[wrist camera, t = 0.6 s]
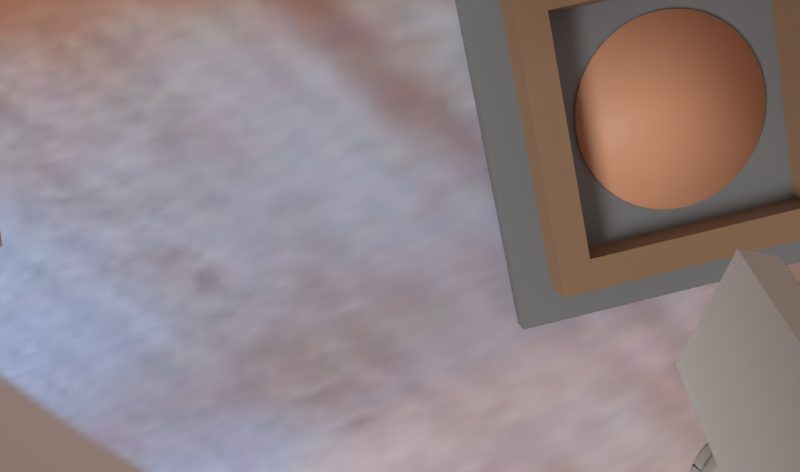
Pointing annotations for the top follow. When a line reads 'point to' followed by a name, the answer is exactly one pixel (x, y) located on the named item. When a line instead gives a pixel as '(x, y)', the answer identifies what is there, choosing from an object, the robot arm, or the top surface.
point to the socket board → (635, 142)
